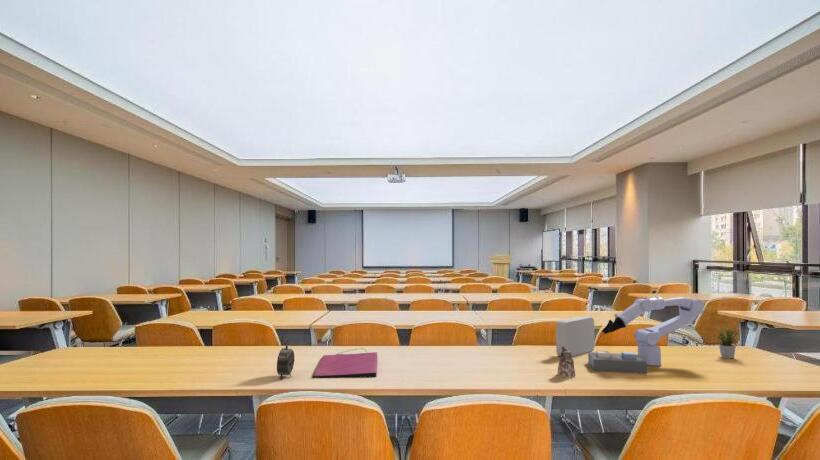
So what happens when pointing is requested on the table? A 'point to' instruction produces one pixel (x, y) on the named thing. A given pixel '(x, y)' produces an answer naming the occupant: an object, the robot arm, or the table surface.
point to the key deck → (617, 363)
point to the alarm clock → (285, 361)
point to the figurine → (566, 364)
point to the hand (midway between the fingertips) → (606, 331)
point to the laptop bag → (347, 366)
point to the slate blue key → (628, 355)
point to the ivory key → (603, 354)
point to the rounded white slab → (575, 335)
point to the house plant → (727, 343)
